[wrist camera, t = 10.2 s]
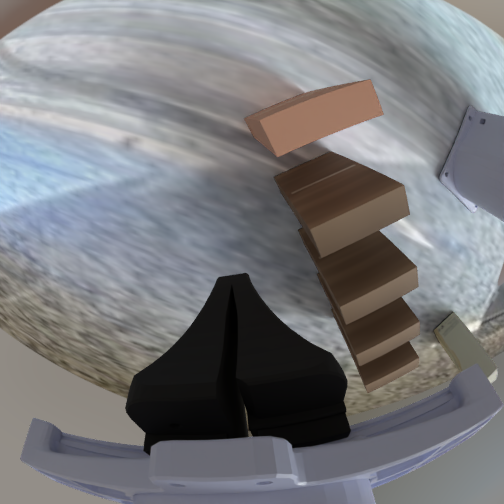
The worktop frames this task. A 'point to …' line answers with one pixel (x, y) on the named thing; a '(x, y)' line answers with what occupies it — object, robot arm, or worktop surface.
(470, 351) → the skincare box
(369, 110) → the terracotta tile
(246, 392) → the robot arm
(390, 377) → the walnut tile
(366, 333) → the walnut tile
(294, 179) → the walnut tile
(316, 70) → the worktop surface
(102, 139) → the worktop surface
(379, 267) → the walnut tile
